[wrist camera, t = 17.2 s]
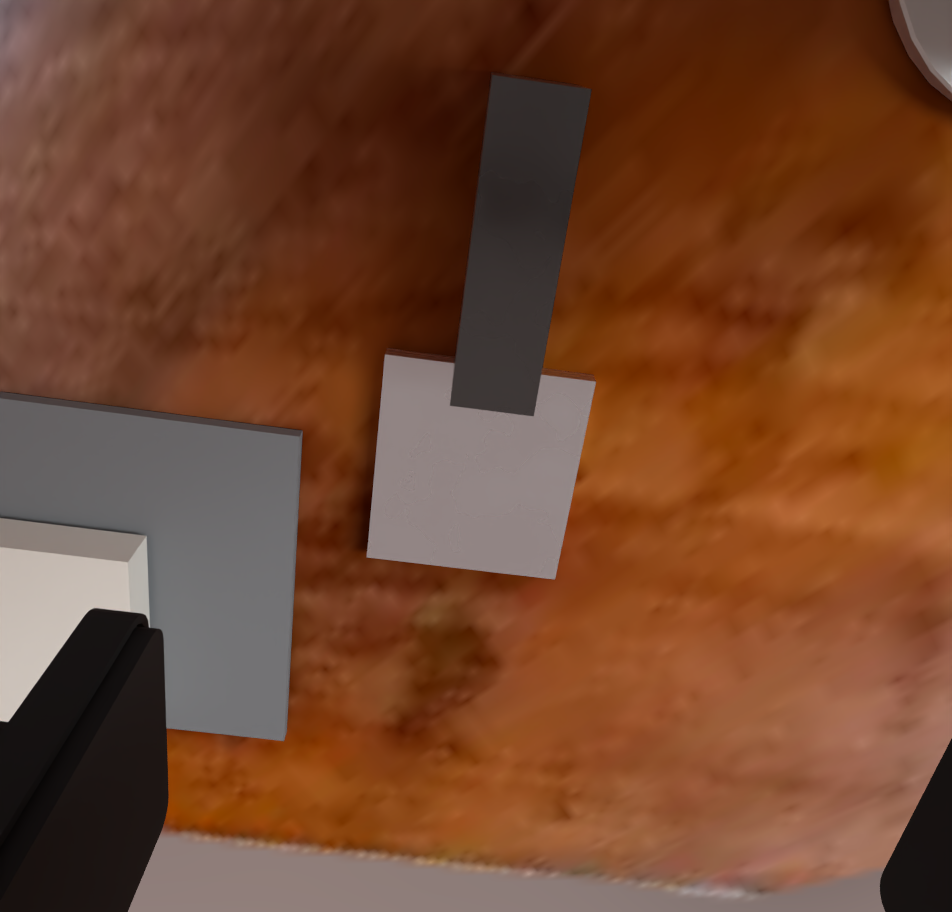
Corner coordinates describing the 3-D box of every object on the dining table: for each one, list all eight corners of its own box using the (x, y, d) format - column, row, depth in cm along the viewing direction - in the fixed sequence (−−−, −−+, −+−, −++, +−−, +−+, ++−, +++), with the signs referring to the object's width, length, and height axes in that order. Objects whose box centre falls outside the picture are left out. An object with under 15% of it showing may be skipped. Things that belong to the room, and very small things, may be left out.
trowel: (413, 60, 28) (398, 61, 23) (650, 95, 28) (682, 102, 23) (369, 547, 36) (352, 617, 31) (553, 569, 36) (563, 642, 32)
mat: (-163, 370, 32) (-174, 376, 32) (302, 430, 33) (299, 436, 33) (-98, 689, 39) (-106, 698, 39) (286, 731, 40) (283, 740, 40)
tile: (-82, 537, 32) (-48, 731, 37) (127, 562, 33) (137, 751, 37) (-48, 508, 34) (-20, 695, 39) (149, 532, 35) (155, 714, 39)
